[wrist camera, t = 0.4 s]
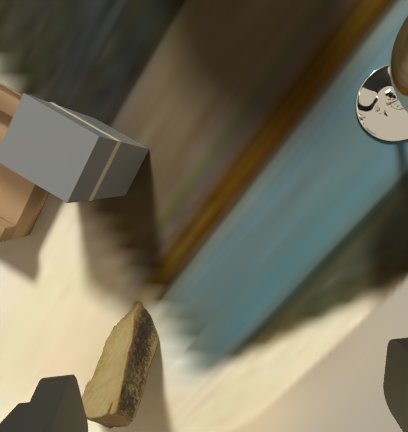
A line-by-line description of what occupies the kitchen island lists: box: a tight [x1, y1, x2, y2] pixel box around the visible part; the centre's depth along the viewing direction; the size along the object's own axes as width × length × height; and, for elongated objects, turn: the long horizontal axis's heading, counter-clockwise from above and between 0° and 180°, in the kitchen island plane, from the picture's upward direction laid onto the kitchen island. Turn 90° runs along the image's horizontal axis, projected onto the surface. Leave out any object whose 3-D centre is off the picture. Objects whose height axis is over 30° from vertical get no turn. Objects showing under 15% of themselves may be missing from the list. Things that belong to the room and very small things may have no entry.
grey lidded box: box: [0, 93, 149, 203], centre depth 31 cm, size 5×6×11 cm
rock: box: [82, 302, 158, 428], centre depth 35 cm, size 11×9×10 cm
